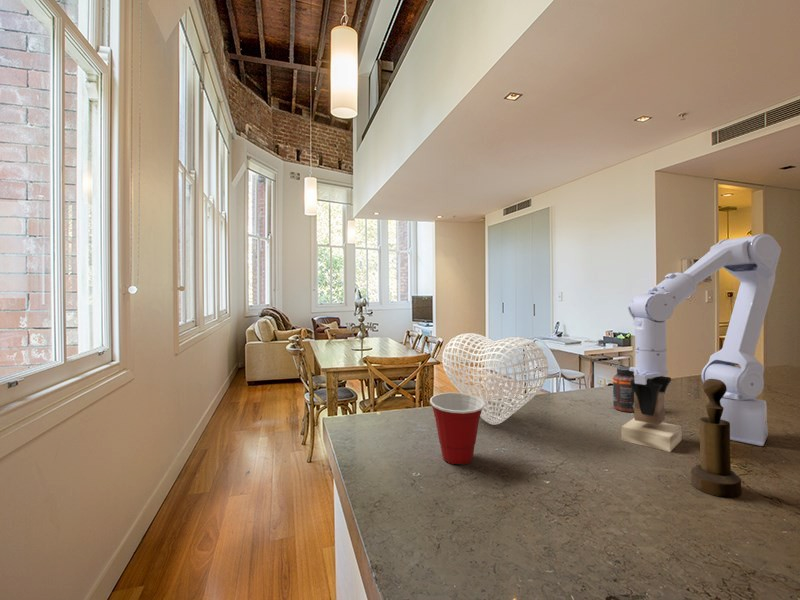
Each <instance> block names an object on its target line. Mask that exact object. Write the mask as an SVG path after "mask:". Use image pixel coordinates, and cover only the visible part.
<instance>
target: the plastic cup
mask: <svg viewBox="0 0 800 600" xmlns="http://www.w3.org/2000/svg"><path fill="white" fill-rule="evenodd" d="M465 393H466V392H464V393H460V392H452V391H451V392H441V393H439V394H434V395H432V396H431V397H430V398H429V399H430V400H429V403H430V405H431V407H432V411H433V413H434V418H435V423H436V430H437V436H438V440H439V441H438V442H439V445H440V449H441V455H442V459H443V460H444V462H445V461H447V462H448V464H450V463H451V464H450V465H454V464H463V465H467V464H470V463H471V462H472V461H473V457H474V451H475V445H476V441H477V435H478V428H479V422H480V418H481V416H480V414H481V412H482V411H483V410H482V409H483V408H484V407H485V406H486V405H485V402H484V400H482V399H481V397H480V398H479V397H477V396H476V395H474V394H473V395H471V394H465ZM447 462H446V463H447Z"/></svg>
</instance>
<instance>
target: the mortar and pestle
mask: <svg viewBox="0 0 800 600" xmlns="http://www.w3.org/2000/svg"><path fill="white" fill-rule="evenodd" d="M702 389H703V391H704V393H705V395H706V396H707V397H708V404H706V405H705V411H706V413H707V416H708V417H700V418H699V420H698V421H699V424H698V425H699V453H700V454H699V457H700V458H699V461H700V463H698V464H697V465H695V466H693V467H691V469H690V482H691V483H690V484H691V485H692V487H694V488H695V489H697V490H698V491H700V492H702V493H705V494H708V495H711V496H717V497H720V498H721V497H722V498H738V497H740V496H741V495H742V479H741V477H740V476H739V475H737V474H736V473H735V471H733V470H732V468H731V467H732V466H731V465H732V464H731V463H732V462H731V440H730V423H729V422H728V421H725V420H722V419H721V416H722V413H723V407H722V406H721V404H720V400H721V398H722V397H723V396H724V394H725V393H726V390H727V388H726V385H725V383H724V382H723V381H721V380H718V379H707V380H706V381H705V382H704V383H703V384H702Z"/></svg>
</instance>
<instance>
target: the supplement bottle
mask: <svg viewBox="0 0 800 600" xmlns="http://www.w3.org/2000/svg"><path fill="white" fill-rule="evenodd" d="M629 368H630V367H625V366H621V367H616V374H615V375H613V377H612V395H613V396H612V397H613V399H612V402H613V405H612V406H613V409H615V410H617V411H620V412H627V413H634V392H635V391H634V389H633V388H632V386H631V384H630V380H632V379H635V372H634V371H629Z"/></svg>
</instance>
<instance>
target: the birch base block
mask: <svg viewBox="0 0 800 600" xmlns="http://www.w3.org/2000/svg"><path fill="white" fill-rule="evenodd" d="M620 429H621V431H620V432H621V441H623V442H626V443H627V442H628V443H630V444H631V443H632V444H635V445H640V446H644V447H647V448H648V447H649V448H653V449H657V450H660V451H664V452H668V453H671V452H672V451H673V449H675V448H676V446H678V444H679V443H681V441H682V433H683V432H682V426H681V425H677V424H673V423H666V422H663V421H662V422H661V423H660V424H659V425H657V424H652V423H647V422H642V421H636V420H635V417H633V418H632V419H629V421H627V422H625V424H622V426H621V428H620Z"/></svg>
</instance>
